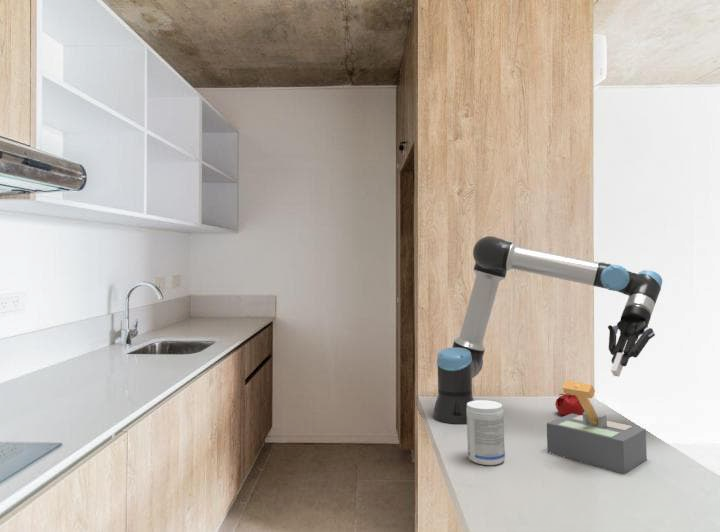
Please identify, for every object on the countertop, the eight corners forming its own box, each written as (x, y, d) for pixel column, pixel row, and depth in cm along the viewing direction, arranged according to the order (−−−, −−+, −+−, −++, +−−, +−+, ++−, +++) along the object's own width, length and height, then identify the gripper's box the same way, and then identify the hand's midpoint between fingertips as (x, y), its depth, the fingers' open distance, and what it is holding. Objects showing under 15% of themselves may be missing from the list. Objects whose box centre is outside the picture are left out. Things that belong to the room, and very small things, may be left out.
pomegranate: (588, 413, 168) (587, 387, 168) (584, 421, 160) (583, 393, 160) (558, 410, 173) (557, 384, 174) (553, 416, 165) (552, 389, 165)
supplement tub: (512, 461, 126) (511, 405, 126) (487, 469, 120) (486, 411, 121) (484, 450, 134) (483, 397, 134) (460, 457, 129) (458, 403, 129)
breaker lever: (581, 423, 131) (561, 387, 125) (584, 416, 132) (564, 380, 126) (608, 429, 126) (588, 391, 120) (611, 422, 127) (591, 384, 121)
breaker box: (547, 452, 132) (546, 411, 132) (572, 440, 141) (571, 402, 141) (624, 474, 116) (622, 428, 117) (646, 459, 125) (645, 416, 125)
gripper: (664, 321, 145) (643, 385, 134) (619, 318, 155) (596, 377, 144) (657, 304, 142) (635, 368, 131) (611, 303, 152) (587, 362, 141)
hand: (615, 373), depth 137 cm, fingers closed
